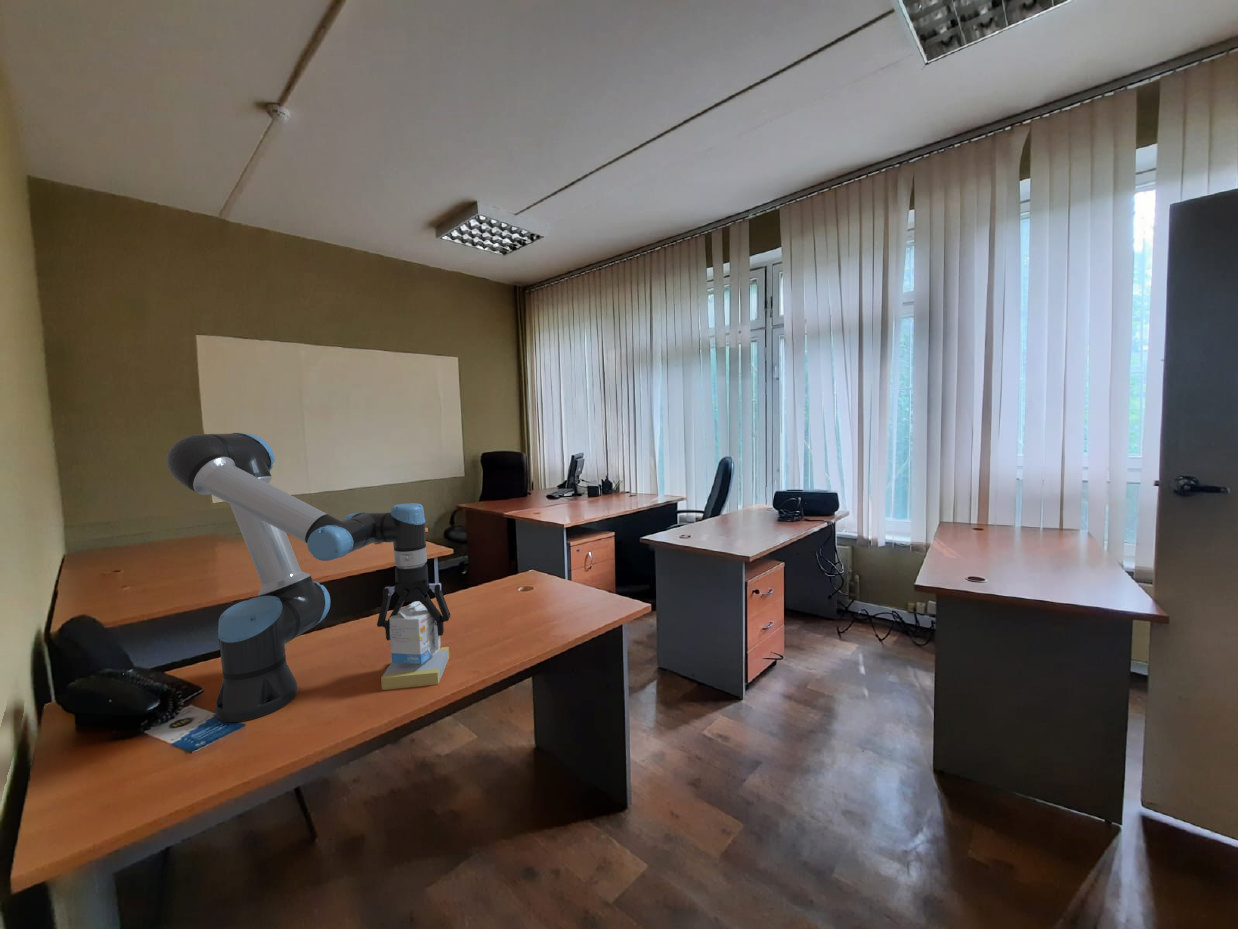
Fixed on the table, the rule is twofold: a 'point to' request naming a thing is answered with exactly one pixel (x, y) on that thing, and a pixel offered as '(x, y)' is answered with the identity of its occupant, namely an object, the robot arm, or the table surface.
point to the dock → (416, 672)
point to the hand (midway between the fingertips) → (416, 649)
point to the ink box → (412, 635)
